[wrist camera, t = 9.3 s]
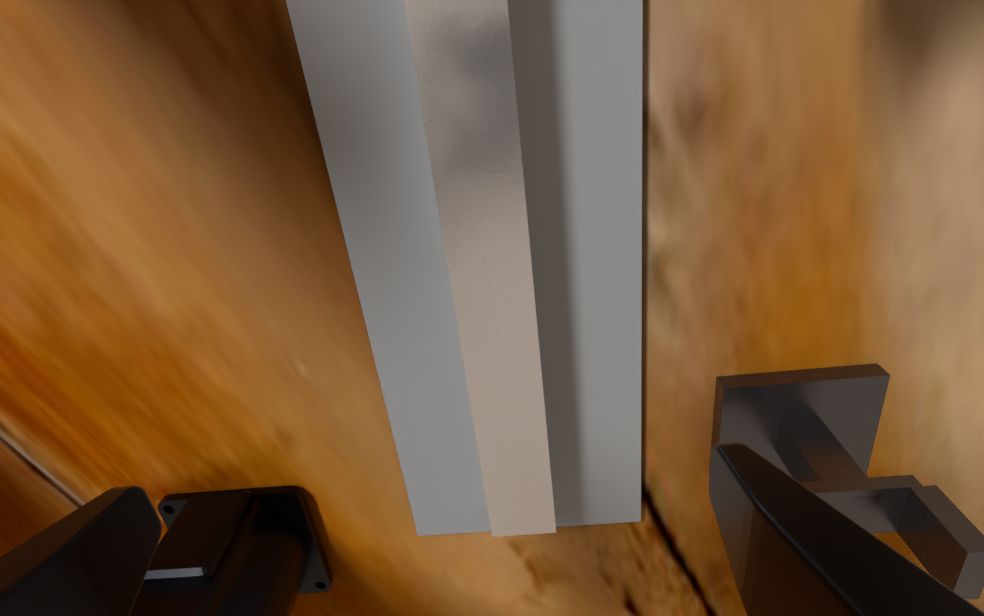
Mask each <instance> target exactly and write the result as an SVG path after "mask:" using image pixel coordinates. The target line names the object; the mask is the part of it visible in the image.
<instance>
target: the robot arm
mask: <svg viewBox="0 0 984 616" xmlns="http://www.w3.org/2000/svg"><path fill="white" fill-rule="evenodd" d="M709 493H710V499H711V503H712V506H713V509H714V513H715V516H716V519H717V522H718V526H719V529H720V532H721V536H722V539H723V542H724V545H725V549H726V552H727V555H728V559H729V562H730V565H731V569H732V572H733V575H734V578H735V582H736V585H737V588H738V591H739V594H740V597H741V600H742V603H743V605H744V608H745V610H746V613H747V615H748V616H984V612H982V611H981V610H980V609H978V608H977V607H975V606H974V605H972V604H971V603H970V602H968V601H967V600H965V599H964V598H962V597H961V596H960V595H958V594H957V593H955V592H954V591H953V590H951V589H950V588H948V587H947V586H945V585H944V584H943V583H941V582H940V581H938V580H937V579H936V578H934V577H933V576H931V575H930V574H928V573H927V572H926V571H924V570H923V569H921V568H920V567H918V566H917V565H916V564H914V563H913V562H911V561H910V560H909V559H907V558H906V557H904V556H903V555H901V554H900V553H899V552H897V551H896V550H894V549H893V548H891V547H890V546H889V545H887V544H886V543H884V542H883V541H882V540H880V539H879V538H877V537H876V536H874V535H873V534H872V533H870V532H869V531H867V530H866V529H865V528H863V527H862V526H860V525H859V524H857V523H856V522H855V521H853V520H852V519H850V518H849V517H847V516H846V515H845V514H843V513H842V512H840V511H839V510H838V509H836V508H835V507H833V506H832V505H830V504H829V503H828V502H826V501H825V500H823V499H822V498H821V497H819V496H818V495H816V494H815V493H813V492H812V491H811V490H809V489H808V488H806V487H805V486H803V485H802V484H801V483H799V482H798V481H796V480H795V479H794V478H792V477H791V476H789V475H788V474H786V473H785V472H784V471H782V470H781V469H779V468H778V467H776V466H775V465H774V464H772V463H771V462H769V461H768V460H767V459H765V458H764V457H762V456H761V455H759V454H758V453H757V452H755V451H754V450H752V449H751V448H750V447H748V446H747V445H745V444H743V443H724V444H717V445H715V446H714V447H713V450H712V454H711V466H710V479H709ZM289 497H291V498H289ZM292 498H293V499H292ZM158 511H159V513H160V514H161V516H162V518H163V520H164V522H165V524H166V526H167V528H168V531H167V532H166V534H165V535H164V537H163V538H162V540H161V541H160V543H159V544H158V542H159V540H160V536H161V531H162V526H161V521H160V519H159V517H158V515H157V513H156V511H155V509H154V507H153V505H152V503H151V501H150V499H149V497H148V496H147V494H146V492H145V490H144V489H142V488H141V487H140V486H123V487H115V488H111V489H109V490H107V491H106V492H104V493H103V494H101V495H99V496H98V497H96V498H94V499H93V500H91V501H90V502H88V503H86V504H85V505H83V506H82V507H80V508H78V509H77V510H75V511H74V512H72V513H70V514H69V515H67V516H66V517H64V518H62V519H61V520H59V521H57V522H56V523H54V524H53V525H51V526H49V527H48V528H46V529H45V530H43V531H41V532H40V533H38V534H37V535H35V536H33V537H32V538H30V539H28V540H27V541H25V542H24V543H22V544H20V545H19V546H17V547H16V548H14V549H12V550H11V551H9V552H8V553H6V554H4V555H3V556H1V557H0V616H290V615H291V612H292V609H293V607H294V604H295V601H296V598H297V596H298V594H301V593H318V592H326V591H328V590H330V588H331V585H332V582H333V576H332V574H331V571H330V568H329V565H328V562H327V560H326V557H325V554H324V551H323V549H322V546H321V543H320V540H319V537H318V535H317V532H316V529H315V526H314V524H313V521H312V518H311V515H310V512H309V510H308V507H307V504H306V501H305V498H304V496H303V493H302V492H301V490H300V489H298V488H297V487H294V486H280V487H266V488H253V489H239V490H225V491H212V492H198V493H184V494H171V495H166V496H165V497H164V498H163V499H162V500H161V502H160V503H159V504H158Z"/></svg>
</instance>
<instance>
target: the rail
mask: <svg viewBox="0 0 984 616" xmlns="http://www.w3.org/2000/svg"><path fill="white" fill-rule="evenodd" d="M404 6H405V12H406V18H407V24H408V30H409V36H410V42H411V48H412V55H413V61H414V67H415V73H416V79H417V85H418V91H419V97H420V103H421V109H422V115H423V121H424V127H425V133H426V139H427V145H428V152H429V158H430V164H431V170H432V176H433V182H434V188H435V194H436V200H437V206H438V212H439V218H440V224H441V230H442V236H443V242H444V248H445V255H446V261H447V267H448V273H449V279H450V285H451V291H452V297H453V303H454V309H455V315H456V321H457V327H458V333H459V339H460V345H461V352H462V358H463V364H464V370H465V376H466V382H467V388H468V394H469V400H470V406H471V412H472V418H473V424H474V430H475V436H476V442H477V449H478V455H479V461H480V467H481V473H482V479H483V485H484V491H485V497H486V503H487V509H488V515H489V521H490V527H491V533H492V537H496V536H511V535H526V534H542V533H556V523H555V512H554V501H553V490H552V480H551V469H550V458H549V447H548V436H547V426H546V415H545V404H544V393H543V382H542V371H541V361H540V350H539V339H538V328H537V317H536V306H535V296H534V285H533V274H532V263H531V252H530V241H529V231H528V220H527V209H526V198H525V187H524V176H523V166H522V155H521V144H520V133H519V122H518V111H517V101H516V90H515V79H514V68H513V57H512V46H511V36H510V25H509V14H508V3H507V0H404Z"/></svg>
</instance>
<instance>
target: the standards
mask: <svg viewBox="0 0 984 616" xmlns="http://www.w3.org/2000/svg"><path fill="white" fill-rule="evenodd" d="M889 378H890V375H889V374H888V373H887V372H886V371H885V370H884V369H883V368H882V367H880V366H879V365H878V364H866V365H854V366H842V367H830V368H818V369H806V370H794V371H782V372H770V373H758V374H746V375H734V376H722V377H717V378H716V391H715V405H714V418H713V431H712V445H711V454H712V450H713V447H714V446H715V445H717V444H724V443H743V444H745V445H747V446H748V447H750V448H751V449H752V450H754V451H755V452H757V453H758V454H759V455H761V456H762V457H764V458H765V459H767V460H768V461H769V462H771V463H772V464H774V465H775V466H776V467H778V468H779V469H781V470H782V471H784V472H785V473H786V474H788V475H789V476H791V477H792V478H794V479H795V480H796V481H798V482H799V483H801V484H802V485H803V486H805V487H806V488H808V489H809V490H811V491H812V492H813V493H815V494H816V495H818V496H819V497H821V498H822V499H823V500H825V501H826V502H828V503H829V504H830V505H832V506H833V507H835V508H836V509H838V510H839V511H840V512H842V513H843V514H845V515H846V516H847V517H849V518H850V519H852V520H853V521H855V522H856V523H857V524H859V525H860V526H862V527H863V528H865V529H866V530H867V531H869V532H870V533H884V532H897V533H898V534H899V535H900V536H901V538H902V539H903V540H904V542H905V543H906V544H907V545H908V547H909V548H910V549H911V551H912V552H913V553H914V554H915V556H916V557H917V558H918V559H919V561H920V562H921V563H922V565H923V566H924V567H925V568H926V570H927V571H928V572H929V574H930V575H931V576H933V577H934V578H936V579H937V580H938V581H940V582H941V583H943V584H944V585H945V586H947V587H948V588H950V589H951V590H953V591H954V592H955V593H957V594H958V595H960V596H961V597H962V598H964V599H979V597H980V594H981V592H982V589H983V587H984V536H983V534H982V533H981V532H980V531H979V530H978V529H977V528H976V527H975V526H974V525H973V524H972V523H971V522H970V521H969V520H968V519H967V518H966V516H965V515H964V514H963V513H962V512H961V511H960V510H959V509H958V508H957V507H956V506H955V505H954V504H953V503H952V502H951V501H950V500H949V498H948V497H947V496H946V495H945V494H944V493H943V492H942V491H941V490H940V489H939V488H938V487H937V486H936V485H933V486H922V485H921V484H920V483H919V481H918V480H917V479H916V478H915V477H914V476H913V475H905V476H890V477H876V478H868V477H867V475H866V474H867V470H868V466H869V461H870V457H871V453H872V449H873V445H874V440H875V436H876V432H877V428H878V424H879V420H880V415H881V411H882V407H883V403H884V399H885V395H886V390H887V386H888V382H889ZM710 466H711V458H710ZM709 475H710V472H709Z"/></svg>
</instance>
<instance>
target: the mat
mask: <svg viewBox="0 0 984 616" xmlns="http://www.w3.org/2000/svg"><path fill="white" fill-rule="evenodd" d="M286 3H287V7H288V11H289V16H290V20H291V24H292V28H293V32H294V36H295V40H296V44H297V48H298V52H299V56H300V60H301V64H302V68H303V72H304V76H305V80H306V84H307V88H308V92H309V97H310V101H311V105H312V109H313V113H314V117H315V121H316V125H317V129H318V133H319V137H320V141H321V145H322V149H323V153H324V157H325V161H326V165H327V169H328V173H329V178H330V182H331V186H332V190H333V194H334V198H335V202H336V206H337V210H338V214H339V218H340V222H341V226H342V230H343V234H344V238H345V242H346V246H347V250H348V254H349V259H350V263H351V267H352V271H353V275H354V279H355V283H356V287H357V291H358V295H359V299H360V303H361V307H362V311H363V315H364V319H365V323H366V327H367V331H368V335H369V340H370V344H371V348H372V352H373V356H374V360H375V364H376V368H377V372H378V376H379V380H380V384H381V388H382V392H383V396H384V400H385V404H386V408H387V412H388V416H389V421H390V425H391V429H392V433H393V437H394V441H395V445H396V449H397V453H398V457H399V461H400V465H401V469H402V473H403V477H404V481H405V485H406V489H407V493H408V497H409V502H410V506H411V510H412V514H413V518H414V522H415V526H416V530H417V534H418V536H427V535H442V534H458V533H473V532H488V531H491V527H490V521H489V515H488V509H487V503H486V497H485V491H484V485H483V479H482V473H481V467H480V461H479V455H478V449H477V442H476V436H475V430H474V424H473V418H472V412H471V406H470V400H469V394H468V388H467V382H466V376H465V370H464V364H463V358H462V352H461V345H460V339H459V333H458V327H457V321H456V315H455V309H454V303H453V297H452V291H451V285H450V279H449V273H448V267H447V261H446V255H445V248H444V242H443V236H442V230H441V224H440V218H439V212H438V206H437V200H436V194H435V188H434V182H433V176H432V170H431V164H430V158H429V152H428V145H427V139H426V133H425V127H424V121H423V115H422V109H421V103H420V97H419V91H418V85H417V79H416V73H415V67H414V61H413V55H412V48H411V42H410V36H409V30H408V24H407V18H406V12H405V6H404V0H286ZM507 3H508V14H509V25H510V36H511V46H512V57H513V68H514V79H515V90H516V101H517V111H518V122H519V133H520V144H521V155H522V166H523V176H524V187H525V198H526V209H527V220H528V231H529V241H530V252H531V263H532V274H533V285H534V296H535V306H536V317H537V328H538V339H539V350H540V361H541V371H542V382H543V393H544V404H545V415H546V426H547V436H548V447H549V458H550V469H551V480H552V490H553V501H554V512H555V523H556V527H565V526H580V525H595V524H611V523H626V522H641V359H642V39H643V0H507Z"/></svg>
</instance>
